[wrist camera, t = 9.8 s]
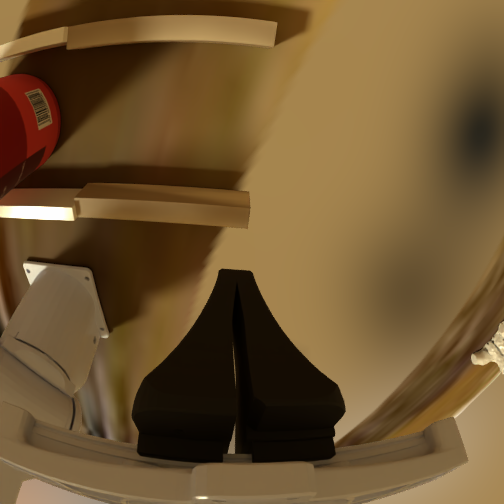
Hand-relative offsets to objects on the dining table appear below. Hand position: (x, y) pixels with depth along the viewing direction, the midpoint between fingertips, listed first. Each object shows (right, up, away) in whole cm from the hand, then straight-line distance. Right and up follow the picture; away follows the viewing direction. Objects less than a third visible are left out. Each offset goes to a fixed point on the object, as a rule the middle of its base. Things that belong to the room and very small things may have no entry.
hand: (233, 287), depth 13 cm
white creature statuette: (+42, -13, +24) cm, 50 cm away
